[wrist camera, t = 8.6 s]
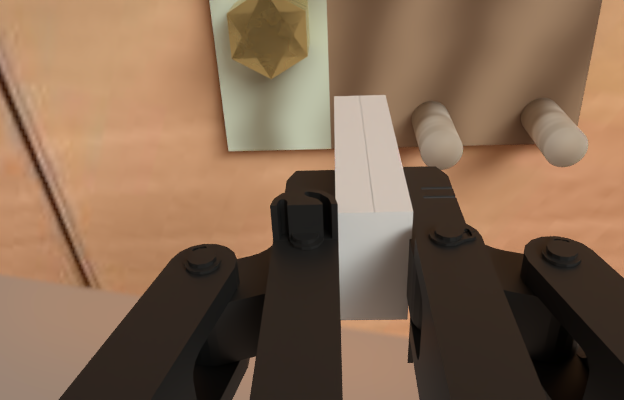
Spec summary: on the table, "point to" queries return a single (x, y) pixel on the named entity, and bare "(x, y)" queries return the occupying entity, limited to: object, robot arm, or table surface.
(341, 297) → the robot arm
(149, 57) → the table surface
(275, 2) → the wooden star polyhedron
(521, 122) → the board
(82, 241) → the table surface
